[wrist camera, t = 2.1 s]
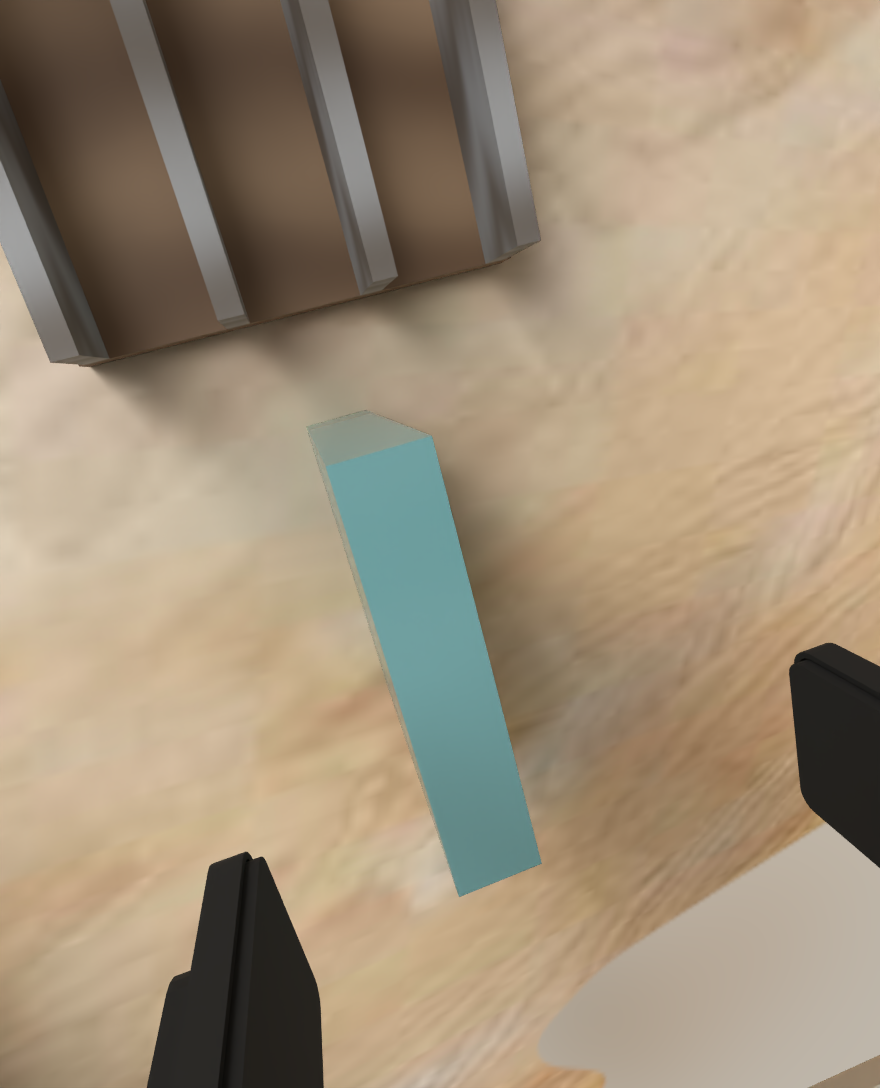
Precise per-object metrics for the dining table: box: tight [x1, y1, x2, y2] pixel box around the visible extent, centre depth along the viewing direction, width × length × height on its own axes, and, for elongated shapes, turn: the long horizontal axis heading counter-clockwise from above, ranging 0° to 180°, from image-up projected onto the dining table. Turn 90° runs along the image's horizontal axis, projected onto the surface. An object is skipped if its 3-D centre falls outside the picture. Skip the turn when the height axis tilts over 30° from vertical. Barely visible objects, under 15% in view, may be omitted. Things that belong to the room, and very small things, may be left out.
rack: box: [0, 0, 541, 367], centre depth 20 cm, size 14×16×5 cm
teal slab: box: [307, 410, 542, 897], centre depth 22 cm, size 12×2×12 cm, turn 15°
